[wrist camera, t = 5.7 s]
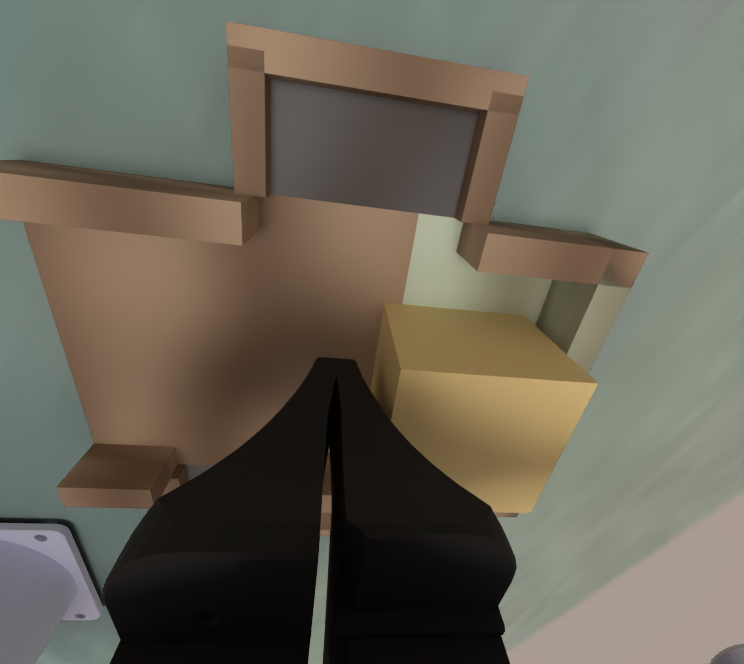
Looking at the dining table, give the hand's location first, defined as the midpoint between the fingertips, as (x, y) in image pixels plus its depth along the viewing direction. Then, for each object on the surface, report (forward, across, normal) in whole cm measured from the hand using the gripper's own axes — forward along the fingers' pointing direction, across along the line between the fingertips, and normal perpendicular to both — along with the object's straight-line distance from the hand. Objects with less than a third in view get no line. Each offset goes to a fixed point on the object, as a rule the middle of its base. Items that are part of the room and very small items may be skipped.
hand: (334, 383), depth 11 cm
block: (+1, -4, 0) cm, 4 cm away
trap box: (+2, +1, 0) cm, 2 cm away
